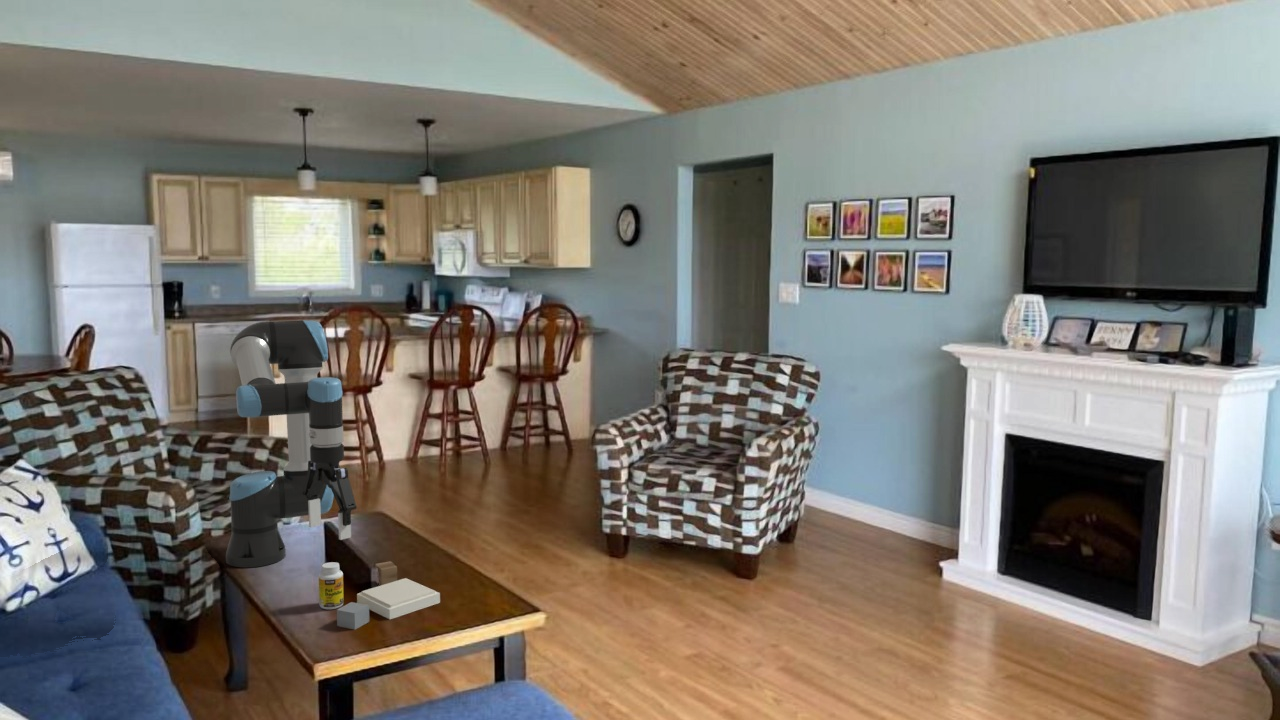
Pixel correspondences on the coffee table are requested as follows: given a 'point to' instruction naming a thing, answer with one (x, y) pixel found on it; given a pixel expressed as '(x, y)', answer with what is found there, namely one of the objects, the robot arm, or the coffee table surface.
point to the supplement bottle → (331, 586)
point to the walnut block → (387, 572)
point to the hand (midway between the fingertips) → (329, 532)
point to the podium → (398, 598)
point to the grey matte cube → (353, 615)
